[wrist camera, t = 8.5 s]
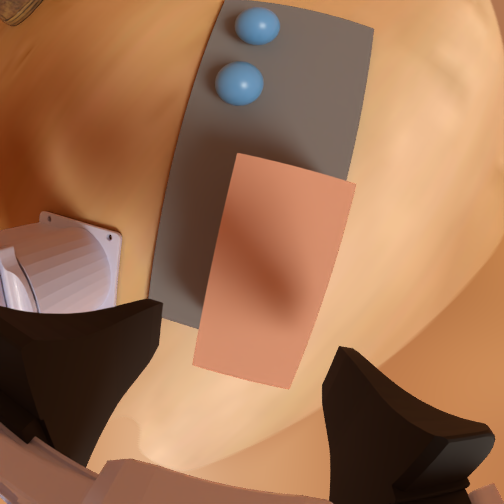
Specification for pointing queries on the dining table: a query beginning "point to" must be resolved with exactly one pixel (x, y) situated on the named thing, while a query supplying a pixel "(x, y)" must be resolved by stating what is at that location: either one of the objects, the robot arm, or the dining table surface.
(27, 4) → the wooden mug
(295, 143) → the charcoal mat
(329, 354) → the dining table surface
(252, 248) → the terracotta cover
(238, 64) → the blue marble
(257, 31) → the blue marble
